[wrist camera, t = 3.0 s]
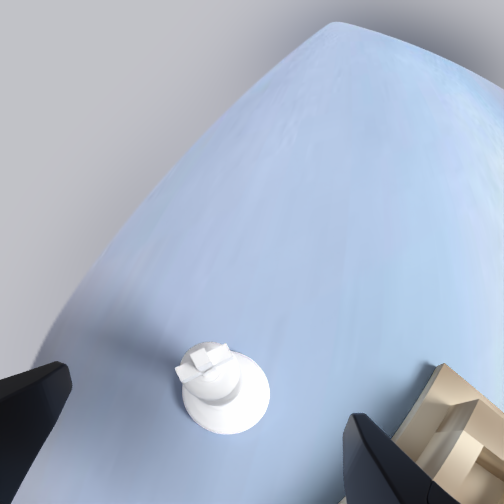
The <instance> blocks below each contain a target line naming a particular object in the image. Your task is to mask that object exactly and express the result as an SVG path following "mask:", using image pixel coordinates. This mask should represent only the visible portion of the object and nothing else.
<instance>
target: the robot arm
mask: <svg viewBox="0 0 504 504" xmlns="http://www.w3.org/2000/svg"><path fill="white" fill-rule="evenodd" d="M71 390H72V380H71V376H70V372H69V368H68V366H67V365H66V364H64V363H61V362H58V361H55V362H52V363H49V364H46V365H43V366H41V367H38V368H35V369H32V370H29V371H26V372H23V373H20V374H17V375H14V376H11V377H8V378H4V379H1V380H0V504H11V502H12V500H13V498H14V496H15V495H16V493H17V491H18V489H19V487H20V485H21V483H22V481H23V480H24V478H25V476H26V474H27V472H28V470H29V469H30V467H31V465H32V463H33V461H34V460H35V458H36V456H37V454H38V453H39V451H40V449H41V447H42V446H43V444H44V442H45V441H46V439H47V437H48V436H49V434H50V432H51V431H52V429H53V427H54V425H55V424H56V422H57V420H58V418H59V415H60V413H61V411H62V409H63V407H64V405H65V403H66V400H67V398H68V396H69V394H70V392H71ZM343 476H344V487H345V494H346V501H347V504H461V503H460V502H458V501H457V500H456V499H454V498H453V497H452V496H451V495H450V494H448V493H447V492H446V491H445V490H444V489H443V488H442V487H440V486H439V485H438V484H437V483H436V482H435V481H434V480H432V478H431V477H430V476H429V475H428V474H426V473H425V472H424V471H423V470H422V469H421V468H420V467H419V466H418V465H417V464H416V463H415V462H414V461H413V460H412V459H411V458H410V457H409V456H408V455H407V454H406V453H405V452H404V451H403V450H402V449H400V448H399V447H398V446H397V445H396V444H395V443H394V442H393V441H392V440H391V439H390V438H389V437H388V436H387V435H386V434H385V433H384V432H383V431H382V430H381V429H380V428H379V427H378V426H377V425H376V424H375V423H374V422H373V421H372V420H371V419H370V418H369V417H368V416H367V415H366V414H364V413H352V414H351V415H350V417H349V419H348V422H347V424H346V427H345V429H344V432H343Z"/></svg>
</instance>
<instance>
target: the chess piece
mask: <svg viewBox="0 0 504 504" xmlns="http://www.w3.org/2000/svg"><path fill="white" fill-rule="evenodd" d="M175 370H176V372H177V374H178V376H179V378H180V380H181V382H182V383H183V386H182V397H183V402H184V405H185V408H186V410H187V412H188V413H189V415H190V416H191V418H192V419H193V420H194V421H195V422H196V423H197V424H198V425H200V426H201V427H203V428H204V429H206V430H208V431H211V432H214V433H218V434H236V433H240V432H243V431H245V430H247V429H249V428H251V427H252V426H254V425H255V424H256V423H257V422H258V421H259V420H260V419H261V418H262V416H263V415H264V413H265V411H266V409H267V407H268V403H269V398H270V389H269V384H268V380H267V378H266V375H265V374H264V372H263V370H262V369H261V368H260V367H259V365H258V364H257V363H256V362H254V361H253V360H252V359H250V358H249V357H247V356H245V355H243V354H241V353H238V352H233V351H231V350H230V349H229V348H228V346H227V344H226V343H225V344H223V345H222V344H219V343H215V342H204V343H200V344H197V345H195V346H193V347H192V348H190V349H189V350H188V351H187V352H186V353H185V355H184V356H183V358H182V360H181V363H180V366H178V367H176V368H175Z"/></svg>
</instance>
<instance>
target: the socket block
mask: <svg viewBox="0 0 504 504" xmlns="http://www.w3.org/2000/svg"><path fill="white" fill-rule="evenodd" d="M391 440H392V441H393V442H394V443H395V444H396V445H397V446H398V447H399V448H400V449H402V450H403V451H404V452H405V453H406V454H407V455H408V456H409V457H410V458H411V459H412V460H413V461H414V462H415V463H416V464H417V465H418V466H419V467H420V468H421V469H422V470H423V471H424V472H425V473H426V474H428V475H429V476H430V477H431V478H432V480H434V481H435V482H436V483H437V484H438V485H439V486H440V487H442V488H443V489H444V490H445V491H446V492H447V493H448V494H450V495H451V496H452V497H453V498H454V499H456V500H457V501H458V502H460V503H461V504H504V413H503V412H502V411H501V410H500V409H499V408H497V407H496V406H495V405H494V404H493V403H492V402H490V401H489V400H488V399H487V398H486V397H485V396H483V395H482V394H481V393H480V392H479V391H477V390H476V389H475V388H474V387H473V386H471V385H470V384H469V383H468V382H467V381H465V380H464V379H463V378H462V377H461V376H459V375H458V374H457V373H456V372H455V371H453V370H452V369H451V368H450V367H449V366H447V365H446V364H445V363H443V364H441V365H439V366H437V367H436V369H435V370H434V372H433V374H432V376H431V377H430V379H429V381H428V383H427V384H426V386H425V388H424V390H423V391H422V393H421V395H420V396H419V398H418V399H417V401H416V403H415V404H414V406H413V407H412V409H411V410H410V412H409V414H408V415H407V417H406V418H405V420H404V421H403V423H402V424H401V426H400V427H399V428H398V430H397V431H396V433H395V434H394V436H393V437H392V438H391ZM338 504H347V501H346V496H345V497H344V498H343V499H342V500H341V501H340V502H339V503H338Z"/></svg>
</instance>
